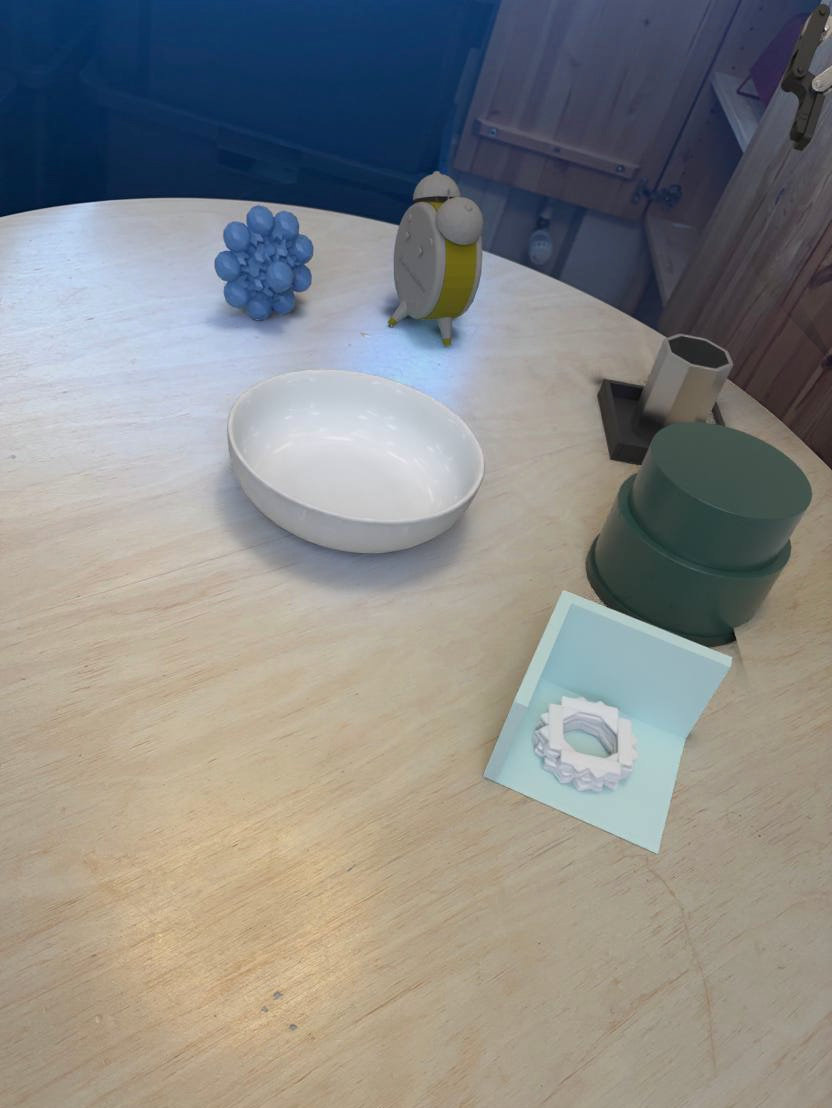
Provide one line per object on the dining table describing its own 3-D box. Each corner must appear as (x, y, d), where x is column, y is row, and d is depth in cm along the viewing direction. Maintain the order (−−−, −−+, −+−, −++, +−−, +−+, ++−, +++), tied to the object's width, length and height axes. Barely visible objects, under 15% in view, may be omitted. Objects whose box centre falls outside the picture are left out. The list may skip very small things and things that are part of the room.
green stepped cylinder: (735, 546, 88) (799, 432, 80) (773, 660, 78) (851, 544, 69) (578, 517, 87) (625, 400, 79) (595, 629, 77) (651, 508, 69)
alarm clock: (463, 352, 106) (500, 212, 96) (406, 353, 104) (437, 210, 93) (423, 300, 113) (454, 165, 103) (369, 300, 111) (394, 162, 101)
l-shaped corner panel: (482, 776, 65) (513, 700, 59) (531, 664, 73) (563, 589, 68) (657, 854, 62) (706, 782, 57) (687, 729, 71) (732, 657, 66)
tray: (708, 415, 105) (715, 399, 103) (731, 481, 96) (740, 464, 95) (597, 394, 104) (603, 378, 103) (610, 459, 95) (617, 442, 94)
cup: (687, 420, 102) (724, 341, 96) (698, 455, 98) (737, 374, 91) (628, 409, 102) (661, 329, 96) (636, 443, 97) (671, 361, 91)
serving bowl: (278, 610, 73) (289, 538, 68) (187, 449, 85) (191, 379, 80) (511, 563, 81) (535, 496, 76) (397, 424, 94) (412, 358, 89)
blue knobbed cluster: (231, 347, 99) (241, 229, 90) (199, 316, 102) (206, 199, 94) (327, 330, 104) (345, 217, 96) (294, 301, 108) (308, 189, 100)
